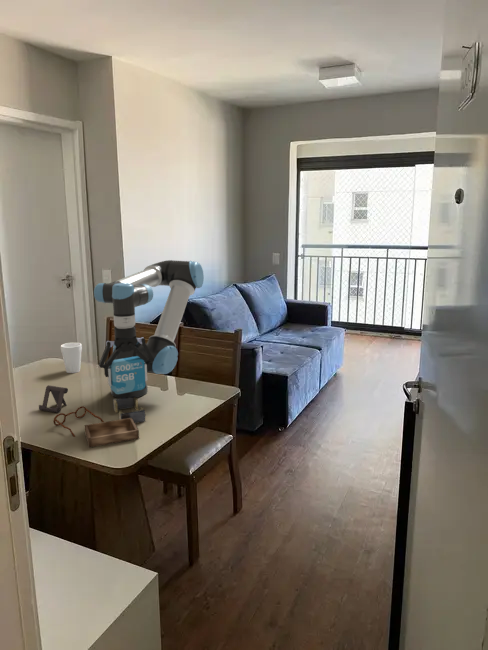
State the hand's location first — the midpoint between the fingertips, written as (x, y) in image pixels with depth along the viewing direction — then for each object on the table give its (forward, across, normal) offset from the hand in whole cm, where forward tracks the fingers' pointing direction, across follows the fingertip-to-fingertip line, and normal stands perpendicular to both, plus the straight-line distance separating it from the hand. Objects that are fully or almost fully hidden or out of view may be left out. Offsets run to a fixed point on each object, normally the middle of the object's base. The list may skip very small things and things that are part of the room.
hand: (127, 382), depth 180 cm
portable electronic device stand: (+13, -25, +18) cm, 34 cm away
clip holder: (+13, 0, 0) cm, 13 cm away
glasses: (+13, -18, -3) cm, 23 cm away
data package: (+3, 0, 0) cm, 3 cm away
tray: (+13, -9, -16) cm, 22 cm away
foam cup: (+14, -14, +64) cm, 67 cm away
